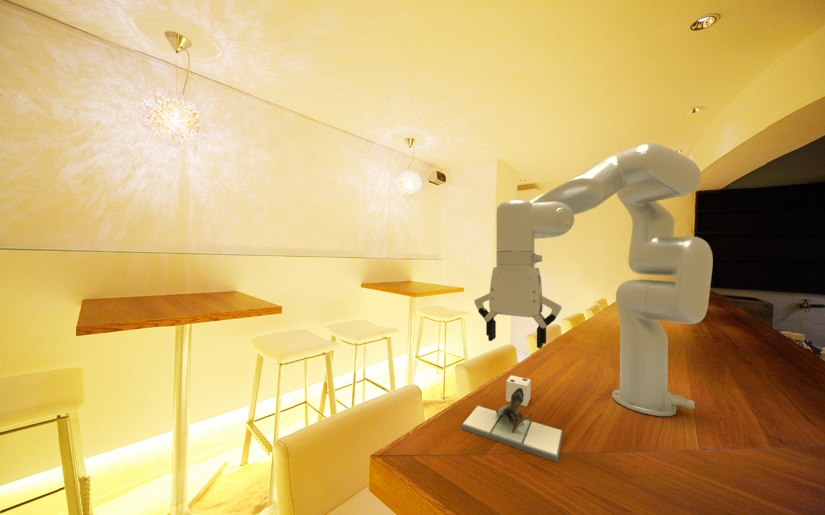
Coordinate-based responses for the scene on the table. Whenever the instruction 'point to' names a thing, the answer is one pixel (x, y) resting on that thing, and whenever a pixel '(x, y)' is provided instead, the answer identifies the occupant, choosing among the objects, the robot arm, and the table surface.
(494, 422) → the game board
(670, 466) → the table surface
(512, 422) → the eagle figurine
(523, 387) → the die
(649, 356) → the robot arm
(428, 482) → the table surface
